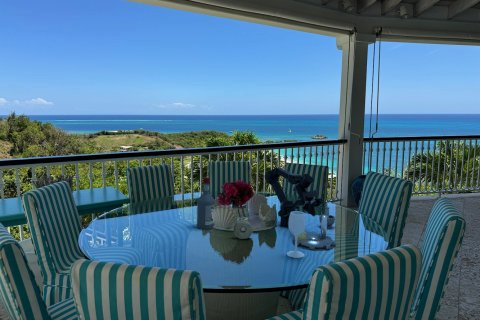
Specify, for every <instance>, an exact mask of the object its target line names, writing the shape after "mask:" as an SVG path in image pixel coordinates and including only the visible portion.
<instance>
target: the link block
mask: <svg viewBox="0 0 480 320" xmlns="http://www.w3.org/2000/svg"><path fill="white" fill-rule="evenodd" d="M306 233H307V231H306V230H304V232H303V233H302V234H300V235H298V238H297V239H298V240H306Z"/></svg>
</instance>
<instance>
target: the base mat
mask: <svg viewBox="0 0 480 320" xmlns="http://www.w3.org/2000/svg"><path fill="white" fill-rule="evenodd" d="M291 241H292V240H291ZM291 243H292V245H294V246H295V241H292V242H291ZM335 246H336V244H335V245H332V246H331V247H330V248H329V249H325V248H322V249H309V248H307V247H303V246H297V248H300V249H304V250H309V251H316V252H317V251H329V250H332V249H334V248H335Z"/></svg>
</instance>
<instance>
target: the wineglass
mask: <svg viewBox="0 0 480 320" xmlns="http://www.w3.org/2000/svg"><path fill="white" fill-rule="evenodd" d="M288 225H289V227H288V230H289V231H290V233H291V234H292V235H293V236H295V245H294V249H293V250H291V251H287V252H286V255H287V256H288V257H290V258H294V259H300V258H304V257H305V254H304V253H303V252H301V251H299V250H298V247H297V238H298V235H300V234H302V233H303V232H304V231H306V230H305V229H306V215H305V212H303V211H300V210H299V211H298V210H297V211H296V210H295V211H293V212H291V213H290V217H289V224H288Z"/></svg>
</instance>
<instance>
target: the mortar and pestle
mask: <svg viewBox="0 0 480 320" xmlns="http://www.w3.org/2000/svg"><path fill="white" fill-rule="evenodd" d="M322 215H323V214H320V215H319V217H318V218H319V222H320V224H321V219H322ZM324 215H326V216H327V229H329V230H330V229H332V228H333V225H334V224H335V222H336V216H334V215H332V214H331V215H330V207H329V206H324Z"/></svg>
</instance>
